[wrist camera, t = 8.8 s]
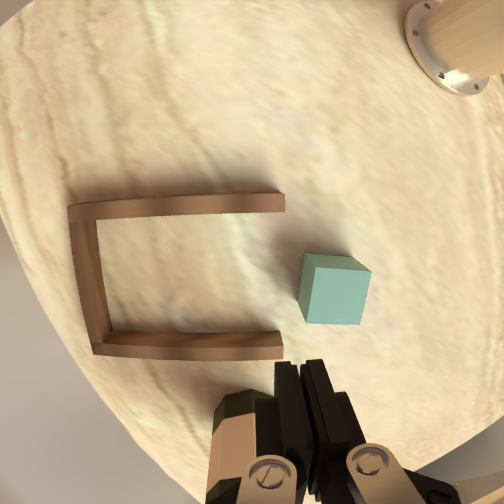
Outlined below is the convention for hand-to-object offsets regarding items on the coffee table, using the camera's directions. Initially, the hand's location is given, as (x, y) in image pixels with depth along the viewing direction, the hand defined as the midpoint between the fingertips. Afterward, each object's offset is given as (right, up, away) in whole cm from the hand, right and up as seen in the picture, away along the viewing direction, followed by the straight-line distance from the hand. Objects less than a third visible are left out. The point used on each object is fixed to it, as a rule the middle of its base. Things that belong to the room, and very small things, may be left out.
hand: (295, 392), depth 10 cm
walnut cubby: (-8, +3, +19) cm, 21 cm away
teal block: (+6, +2, +20) cm, 21 cm away
